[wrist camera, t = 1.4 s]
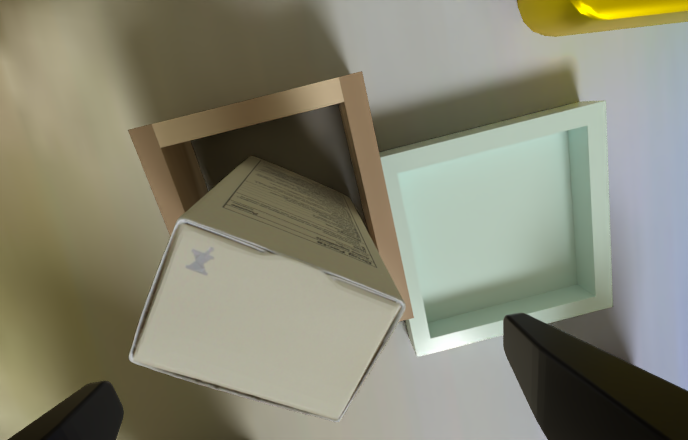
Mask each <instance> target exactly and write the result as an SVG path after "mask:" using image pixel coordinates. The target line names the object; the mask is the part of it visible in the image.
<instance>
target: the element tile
mask: <svg viewBox="0 0 688 440" xmlns="http://www.w3.org/2000/svg"><path fill="white" fill-rule="evenodd" d="M517 3H518V8H519V11H520V14H521V16H522V19H523V22H524V23H525V24H526V25H527V26H528V27H529V28H530V29H531V30H532V31H533V32H536V33H539V34H541V35H544V36H554V37H557V36H566V35H575V34H583V33H592V32H601V31H610V30H618V29H627V28H636V27H644V26H653V25H662V24H670V23H679V22H688V0H517Z"/></svg>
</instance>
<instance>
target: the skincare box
mask: <svg viewBox="0 0 688 440" xmlns="http://www.w3.org/2000/svg"><path fill="white" fill-rule="evenodd" d="M405 308H406V304H405V302H404V300H403V299H402V297H401V295H400V293H399V291H398V289H397V287H396V285H395V283H394V281H393V279H392V277H391V276H390V274H389V272H388V270H387V268H386V266H385V264H384V262H383V260H382V258H381V256H380V254H379V252H378V250H377V248H376V247H375V245H374V243H373V241H372V239H371V237H370V235H369V233H368V231H367V229H366V227H365V226H364V224H363V222H362V220H361V218H360V216H359V214H358V212H357V210H356V208H355V206H354V205H353V203H352V201H351V199H350V198H349V197H348V196H346V195H344V194H342V193H339V192H337V191H335V190H333V189H331V188H329V187H326V186H324V185H322V184H320V183H318V182H315V181H313V180H311V179H308V178H306V177H304V176H301V175H299V174H297V173H294V172H292V171H290V170H287V169H285V168H282V167H280V166H277V165H275V164H272V163H270V162H267V161H265V160H262V159H259V158H257V157H254V156H249V157H248V158H247V159H246V160H244V161H243V162H242V163H241V164H240V165H239V166H238V167H237V168H235V169H234V170H233V171H232V172H231V173H230V174H229V175H227V176H226V177H225V178H224V179H223V180H222V181H220V182H219V183H218V184H217V185H216V186H215V187H214V188H213V189H211V190H210V191H209V192H208V193H207V194H206V195H205V196H203V197H202V198H201V199H200V200H199V201H198V202H197V203H195V204H194V205H193V206H192V207H191V208H190V209H189V210H187V211H186V212H185V213H184V214H182V215H181V216H180V217H179V218H178V220H177V221H176V223H175V226H174V229H173V232H172V234H171V237H170V239H169V241H168V244H167V246H166V249H165V251H164V254H163V257H162V259H161V262H160V264H159V267H158V269H157V272H156V275H155V277H154V280H153V283H152V286H151V288H150V291H149V293H148V296H147V299H146V302H145V305H144V308H143V311H142V314H141V316H140V319H139V322H138V325H137V328H136V332H135V335H134V339H133V342H132V345H131V349H130V351H129V360H130V361H131V362H133V363H135V364H137V365H140V366H144V367H147V368H150V369H152V370H154V371H158V372H161V373H164V374H167V375H170V376H173V377H176V378H180V379H183V380H186V381H189V382H193V383H196V384H198V385H202V386H206V387H209V388H212V389H215V390H220V391H223V392H226V393H230V394H233V395H236V396H240V397H244V398H247V399H251V400H254V401H258V402H262V403H265V404H269V405H272V406H277V407H280V408H283V409H287V410H291V411H295V412H299V413H303V414H306V415H310V416H315V417H319V418H322V419H326V420H329V421H333V422H339V421H341V420H342V418H343V417H344V415H345V413H346V411H347V410H348V408H349V406H350V404H351V403H352V401H353V400H354V398H355V396H356V395H357V393H358V392H359V390H360V388H361V386H362V385H363V383H364V381H365V380H366V378H367V377H368V375H369V374H370V372H371V370H372V368H373V366H374V365H375V363H376V361H377V359H378V358H379V356H380V354H381V352H382V351H383V349H384V347H385V346H386V344H387V342H388V340H389V339H390V337H391V335H392V333H393V331H394V330H395V328H396V326H397V324H398V323H399V321H400V319H401V317H402V315H403V313H404V312H405Z"/></svg>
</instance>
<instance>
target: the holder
mask: <svg viewBox="0 0 688 440" xmlns="http://www.w3.org/2000/svg"><path fill="white" fill-rule="evenodd" d="M335 104H339V109H340V113H341V117H342V121H343V126H344V130H345V134H346V139H347V143H348V147H349V151H350V156H351V160H352V164H353V169H354V173H355V177H356V181H357V186H358V190H359V194H360V198H361V203H362V207H363V211H364V216H365V220H366V224H367V228H368V233H369V235H370V237H371V239H372V241H373V243H374V245H375V247H376V248H377V250H378V252H379V254H380V256H381V258H382V260H383V262H384V264H385V266H386V268H387V270H388V272H389V274H390V276H391V277H392V279H393V281H394V283H395V285H396V287H397V289H398V291H399V293H400V295H401V297H402V299H403V300H404V302H405V304H406V308H405V312H404V313H403V315H402V317H401V319H400V321H404V320H408V319H412V318H414V316H413V311H412V306H411V301H410V297H409V292H408V287H407V282H406V278H405V273H404V268H403V264H402V259H401V254H400V249H399V245H398V240H397V235H396V230H395V226H394V221H393V216H392V211H391V207H390V202H389V197H388V192H387V188H386V183H385V178H384V173H383V169H382V164H381V159H380V154H379V150H378V145H377V140H376V135H375V131H374V126H373V121H372V117H371V112H370V107H369V102H368V98H367V93H366V88H365V83H364V79H363V74H362V71H361V72H357V73H353V74H349V75H345V76H341V77H337V78H333V79H329V80H325V81H321V82H317V83H313V84H309V85H305V86H301V87H297V88H293V89H289V90H285V91H281V92H277V93H273V94H269V95H265V96H261V97H257V98H253V99H249V100H245V101H242V102H238V103H234V104H230V105H226V106H222V107H218V108H214V109H210V110H206V111H202V112H198V113H194V114H190V115H186V116H182V117H178V118H174V119H170V120H166V121H162V122H158V123H154V124H150V125H146V126H142V127H138V128H134V129H130V130H128V131H129V134H130V136H131V139H132V141H133V144H134V146H135V149H136V151H137V154H138V156H139V159H140V161H141V164H142V166H143V169H144V171H145V174H146V176H147V179H148V181H149V184H150V186H151V189H152V191H153V194H154V196H155V199H156V201H157V204H158V206H159V209H160V212H161V214H162V217H163V219H164V222H165V224H166V227H167V229H168V232H169V234H170V237H171V234H172V232H173V229H174V226H175V223H176V221H177V220H178V218H179V217H180V216H181V215H182V214H184V213H185V212H186V211H187V210H189V209H190V208H191V207H192V206H193V205H194V204H195V203H197V202H198V201H199V200H200V199H201V198H202V197H203V196H205V195H206V194H207V193H208V189H207V187H206V184H205V181H204V178H203V175H202V172H201V170H200V167H199V164H198V161H197V158H196V156H195V153H194V150H193V147H192V144H191V141H192V140H196V139H200V138H204V137H208V136H212V135H216V134H219V133H223V132H227V131H231V130H235V129H239V128H243V127H247V126H251V125H255V124H259V123H263V122H267V121H271V120H275V119H279V118H283V117H287V116H291V115H295V114H299V113H303V112H307V111H311V110H315V109H319V108H323V107H327V106H331V105H335ZM400 321H399V322H400Z"/></svg>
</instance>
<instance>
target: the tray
mask: <svg viewBox="0 0 688 440" xmlns="http://www.w3.org/2000/svg"><path fill="white" fill-rule="evenodd" d="M379 154H380V159H381V164H382V169H383V173H384V178H385V183H386V188H387V192H388V197H389V202H390V207H391V211H392V216H393V221H394V226H395V230H396V235H397V240H398V245H399V249H400V254H401V259H402V264H403V268H404V273H405V278H406V282H407V287H408V292H409V297H410V301H411V306H412V311H413V316H414V318H412V319H408V320H405V321H406V326H407V330H408V335H409V339H410V341H411V344H412V346H413V349H414V351H415V353H416V356H417V357H420V356H423V355H427V354H431V353H435V352H439V351H443V350H447V349H451V348H455V347H458V346H462V345H466V344H470V343H474V342H478V341H482V340H486V339H490V338H493V337H497V336H501V335H503V319H504V317H505V316H506V315H508V314H514V313H525V314H528V315H530V316H532V317H534V318H536V319H538V320H540V321H542V322H544V323H547V324H548V323H552V322H556V321H560V320H564V319H567V318H571V317H575V316H579V315H583V314H587V313H591V312H595V311H599V310H603V309H606V308H610V307H613V299H612V269H611V240H610V210H609V181H608V152H607V122H606V101H583V102H577V103H573V104H569V105H565V106H561V107H557V108H553V109H549V110H545V111H541V112H537V113H533V114H529V115H525V116H521V117H517V118H513V119H509V120H505V121H501V122H497V123H493V124H489V125H485V126H482V127H478V128H474V129H470V130H466V131H462V132H458V133H454V134H450V135H446V136H442V137H438V138H434V139H430V140H426V141H422V142H418V143H414V144H410V145H406V146H402V147H398V148H394V149H390V150H386V151H382V152H379Z"/></svg>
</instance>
